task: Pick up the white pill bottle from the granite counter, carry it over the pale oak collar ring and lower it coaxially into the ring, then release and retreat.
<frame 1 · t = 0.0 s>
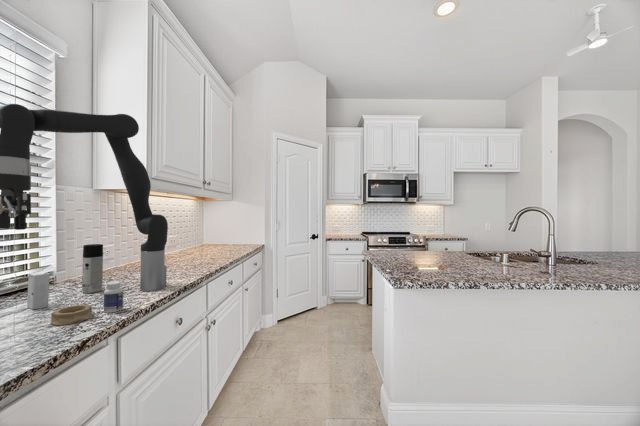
hand: (12, 229, 81), 29 cm above the worktop, tool pointing down, fingers open, 8 cm apart
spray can: (92, 291, 118), on the worktop
pill bottle: (113, 311, 96), on the worktop
skincare box: (38, 307, 99), on the worktop
collar: (72, 318, 89), on the worktop
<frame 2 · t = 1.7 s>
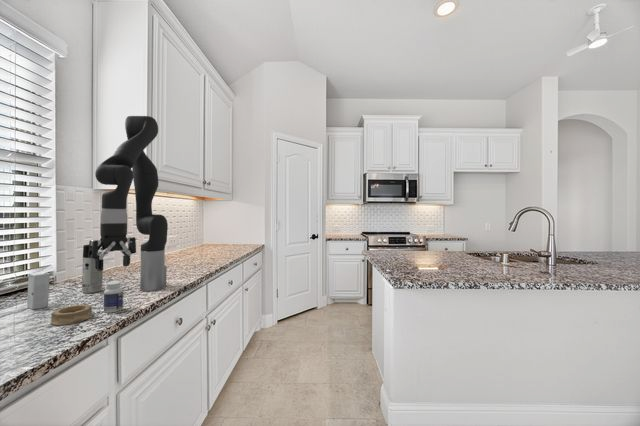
hand: (113, 268, 96), 15 cm above the worktop, tool pointing down, fingers open, 8 cm apart
nothing on the worktop moved.
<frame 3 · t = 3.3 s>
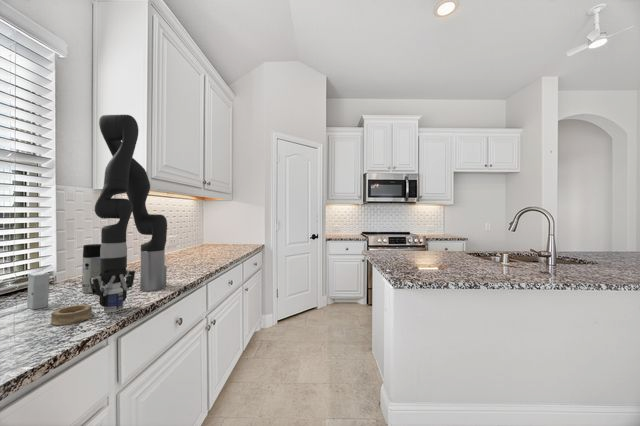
hand: (113, 303, 96), 3 cm above the worktop, tool pointing down, fingers closed on pill bottle, 5 cm apart
pill bottle: (113, 311, 96), on the worktop, touching gripper
everything else where it was.
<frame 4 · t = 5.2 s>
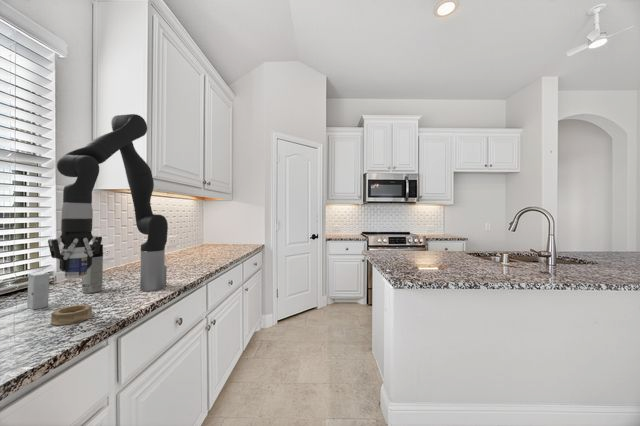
hand: (76, 269, 89), 16 cm above the worktop, tool pointing down, fingers closed on pill bottle, 5 cm apart
pill bottle: (76, 277, 89), point 13 cm above the worktop, touching gripper
everything else where it was.
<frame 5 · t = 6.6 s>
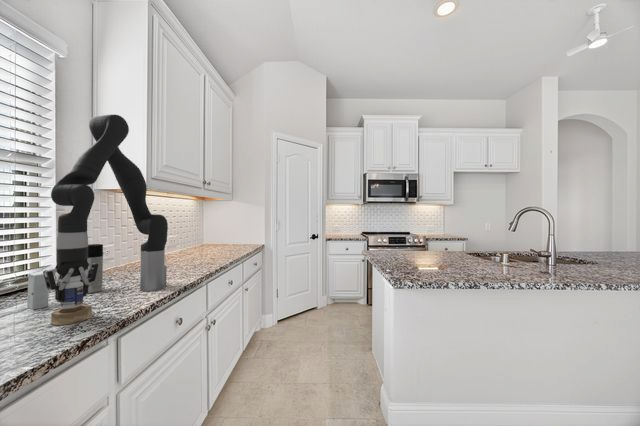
hand: (72, 298, 89), 7 cm above the worktop, tool pointing down, fingers closed on pill bottle, 5 cm apart
pill bottle: (72, 306, 89), point 4 cm above the worktop, touching gripper
everything else where it was.
when the fingers open (4 cm above the worktop, at t = 7.4 s): pill bottle drops 1 cm, resting on collar.
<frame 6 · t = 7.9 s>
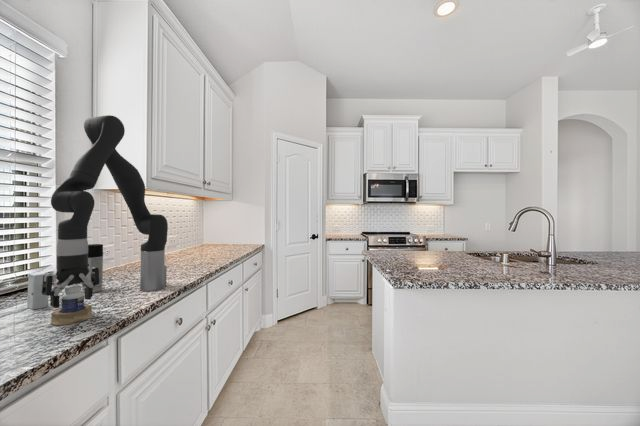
hand: (72, 303, 89), 5 cm above the worktop, tool pointing down, fingers open, 8 cm apart
pill bottle: (72, 317, 89), resting on collar
everything else where it was.
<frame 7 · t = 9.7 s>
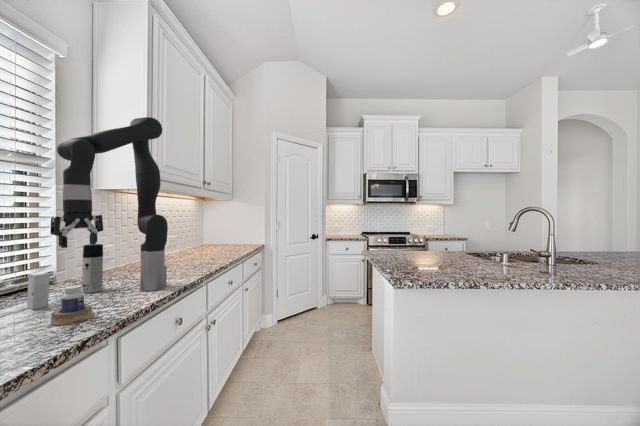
hand: (79, 245, 95), 23 cm above the worktop, tool pointing down, fingers open, 8 cm apart
nothing on the worktop moved.
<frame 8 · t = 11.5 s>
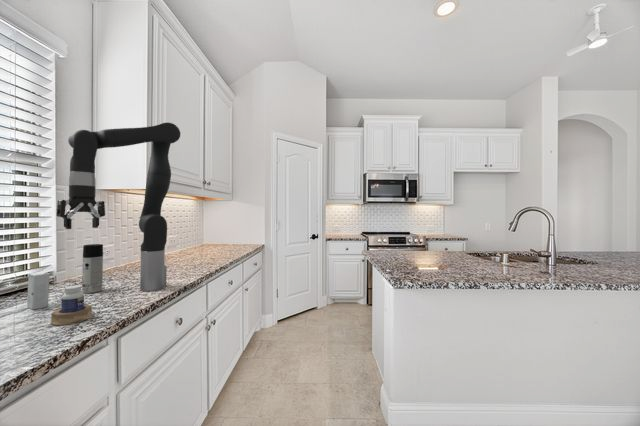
hand: (82, 228, 103), 28 cm above the worktop, tool pointing down, fingers open, 8 cm apart
nothing on the worktop moved.
at the end: pill bottle 0.1 cm from the collar (horizontally); pill bottle tilted 0°; pill bottle resting on collar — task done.
